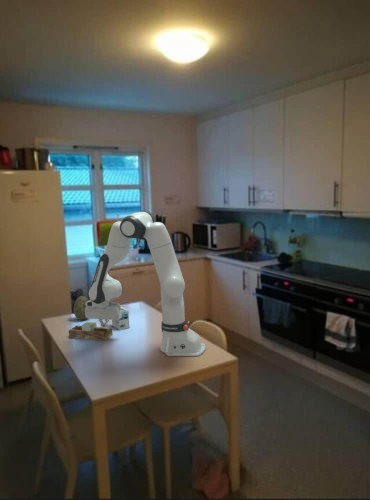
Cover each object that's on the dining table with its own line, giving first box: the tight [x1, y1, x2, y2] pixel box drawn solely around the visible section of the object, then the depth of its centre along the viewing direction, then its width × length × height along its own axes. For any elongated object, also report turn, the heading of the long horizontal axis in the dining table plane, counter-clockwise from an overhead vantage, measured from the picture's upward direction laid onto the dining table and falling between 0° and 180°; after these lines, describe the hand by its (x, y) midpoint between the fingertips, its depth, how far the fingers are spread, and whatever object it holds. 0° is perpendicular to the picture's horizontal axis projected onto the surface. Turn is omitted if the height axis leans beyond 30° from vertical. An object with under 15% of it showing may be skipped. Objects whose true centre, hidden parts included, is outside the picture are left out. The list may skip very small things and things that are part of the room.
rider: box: [81, 320, 98, 331], centre depth 210 cm, size 5×7×5 cm
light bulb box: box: [111, 306, 130, 331], centre depth 224 cm, size 11×7×11 cm, turn 34°
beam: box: [68, 324, 113, 341], centre depth 210 cm, size 22×8×4 cm, turn 75°
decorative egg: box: [72, 295, 90, 321], centre depth 238 cm, size 11×11×15 cm
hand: (104, 326), depth 208 cm, fingers closed
